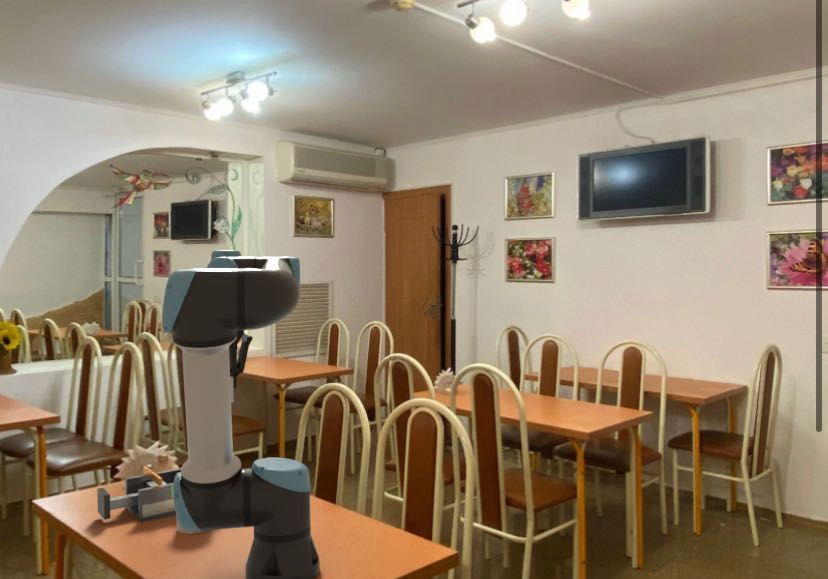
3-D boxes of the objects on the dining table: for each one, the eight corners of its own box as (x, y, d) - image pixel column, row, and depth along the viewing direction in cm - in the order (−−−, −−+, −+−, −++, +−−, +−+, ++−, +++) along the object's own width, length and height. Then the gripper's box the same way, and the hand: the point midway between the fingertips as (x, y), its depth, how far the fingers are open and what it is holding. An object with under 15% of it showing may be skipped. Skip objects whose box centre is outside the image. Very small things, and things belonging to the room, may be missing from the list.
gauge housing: (210, 507, 183) (210, 477, 183) (140, 522, 172) (140, 491, 172) (192, 494, 195) (191, 466, 195) (125, 507, 184) (124, 478, 184)
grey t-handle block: (175, 509, 178) (175, 476, 178) (108, 523, 168) (107, 488, 168) (158, 495, 189) (157, 464, 189) (94, 508, 179) (93, 475, 179)
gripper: (245, 308, 183) (246, 396, 184) (197, 310, 175) (198, 402, 176) (257, 309, 177) (258, 400, 178) (207, 312, 169) (209, 407, 170)
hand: (228, 401), depth 177 cm, fingers closed
